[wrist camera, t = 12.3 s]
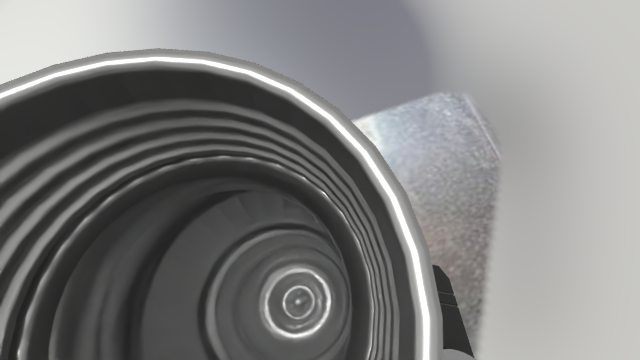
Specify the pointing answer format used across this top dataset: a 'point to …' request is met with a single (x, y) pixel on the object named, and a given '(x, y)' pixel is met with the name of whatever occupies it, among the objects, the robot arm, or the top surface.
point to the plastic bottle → (201, 219)
